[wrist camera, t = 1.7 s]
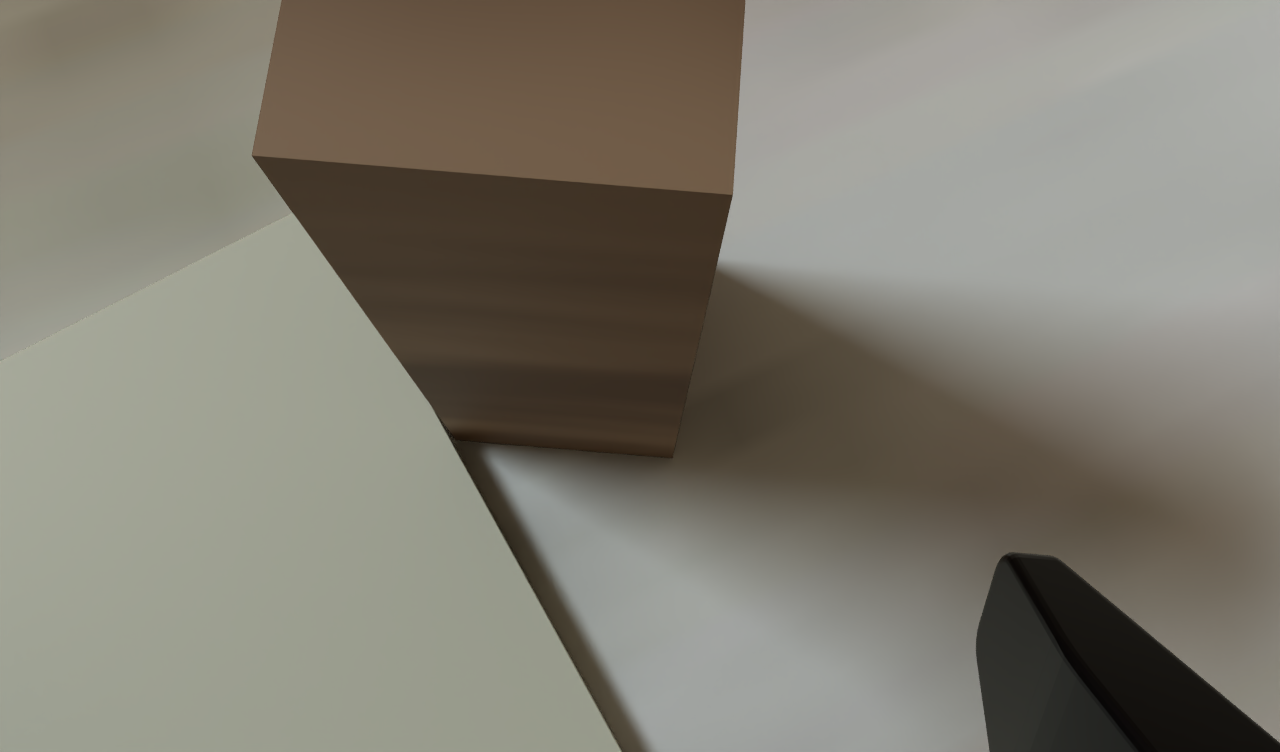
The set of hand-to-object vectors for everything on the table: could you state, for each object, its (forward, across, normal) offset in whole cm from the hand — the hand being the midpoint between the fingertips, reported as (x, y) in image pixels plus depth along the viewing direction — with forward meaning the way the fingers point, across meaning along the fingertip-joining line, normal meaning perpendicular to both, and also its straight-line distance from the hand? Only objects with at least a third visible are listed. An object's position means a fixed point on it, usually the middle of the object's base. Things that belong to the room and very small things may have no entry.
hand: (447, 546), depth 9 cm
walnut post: (+12, 0, +5) cm, 13 cm away
